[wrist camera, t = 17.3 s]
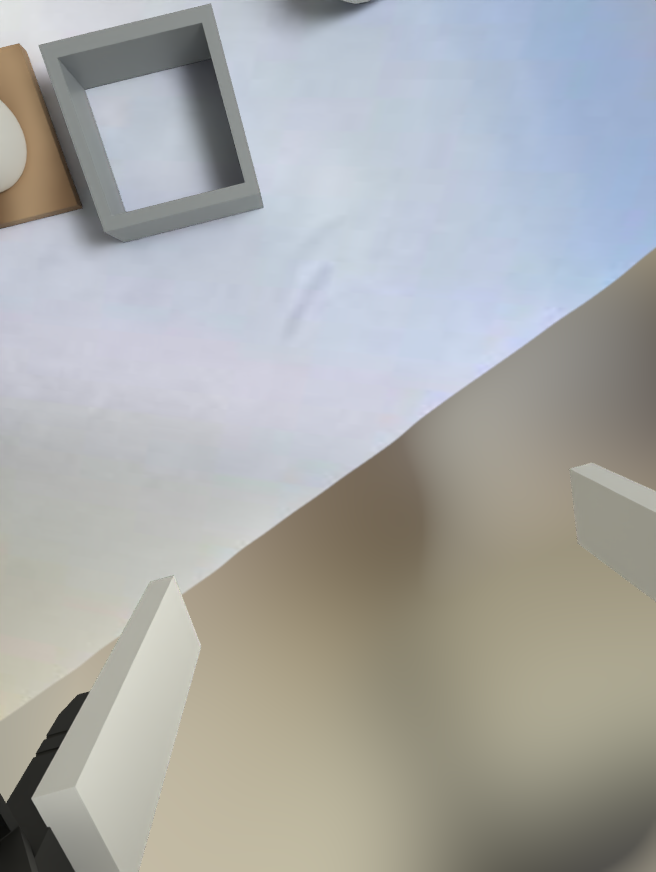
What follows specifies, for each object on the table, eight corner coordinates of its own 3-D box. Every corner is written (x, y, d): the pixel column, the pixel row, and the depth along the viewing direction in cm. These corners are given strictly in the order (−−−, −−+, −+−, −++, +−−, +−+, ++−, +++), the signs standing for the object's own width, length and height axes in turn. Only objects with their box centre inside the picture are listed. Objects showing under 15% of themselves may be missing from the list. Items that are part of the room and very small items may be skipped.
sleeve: (124, 242, 40) (104, 232, 36) (68, 78, 37) (38, 45, 32) (263, 207, 40) (260, 192, 36) (220, 41, 37) (210, 3, 33)
